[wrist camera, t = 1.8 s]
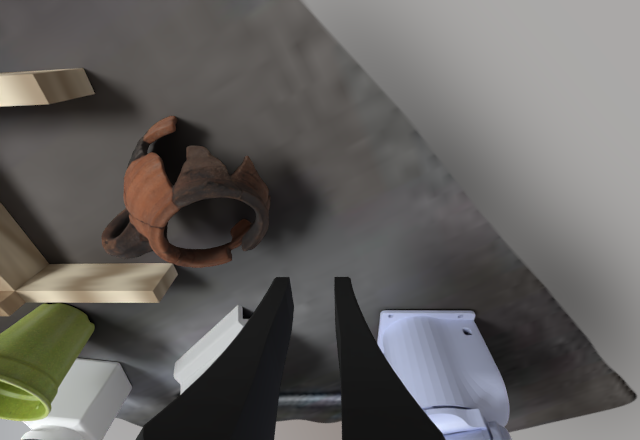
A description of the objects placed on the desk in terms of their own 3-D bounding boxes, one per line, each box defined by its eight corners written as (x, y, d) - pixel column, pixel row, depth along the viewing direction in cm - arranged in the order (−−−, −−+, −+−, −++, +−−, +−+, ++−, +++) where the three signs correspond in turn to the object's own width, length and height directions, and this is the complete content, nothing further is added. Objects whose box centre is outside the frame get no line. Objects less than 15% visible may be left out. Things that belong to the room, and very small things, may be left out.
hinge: (239, 303, 29) (242, 414, 23) (276, 310, 32) (287, 410, 25) (173, 363, 37) (160, 460, 30) (208, 364, 39) (203, 453, 33)
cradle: (83, 68, 17) (3, 77, 13) (177, 274, 27) (149, 316, 23) (-118, 79, 18) (-252, 91, 14) (44, 275, 28) (-7, 315, 24)
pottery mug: (195, 75, 18) (217, 143, 13) (273, 163, 25) (305, 227, 21) (60, 180, 19) (35, 278, 14) (173, 234, 27) (181, 311, 22)
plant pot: (29, 277, 28) (-75, 358, 21) (120, 316, 31) (56, 399, 24) (18, 319, 33) (-72, 399, 25) (99, 350, 36) (39, 429, 28)
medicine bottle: (66, 355, 37) (-34, 473, 27) (120, 361, 37) (40, 481, 27) (85, 382, 41) (3, 494, 31) (133, 387, 41) (68, 500, 31)
